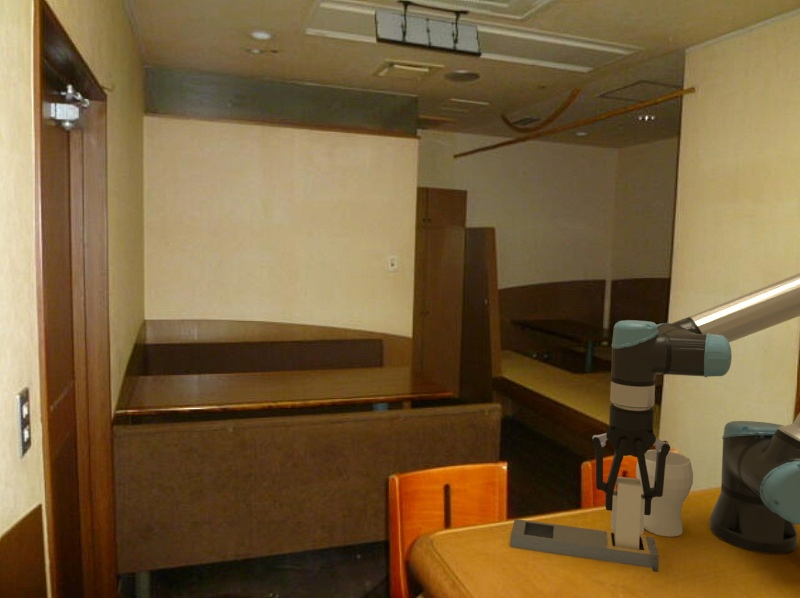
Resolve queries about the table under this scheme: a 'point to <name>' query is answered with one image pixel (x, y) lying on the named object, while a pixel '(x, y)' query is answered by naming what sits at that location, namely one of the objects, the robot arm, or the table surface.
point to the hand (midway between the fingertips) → (626, 528)
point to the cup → (667, 493)
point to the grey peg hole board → (582, 543)
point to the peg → (628, 513)
